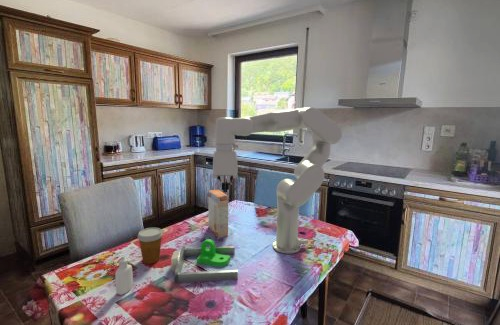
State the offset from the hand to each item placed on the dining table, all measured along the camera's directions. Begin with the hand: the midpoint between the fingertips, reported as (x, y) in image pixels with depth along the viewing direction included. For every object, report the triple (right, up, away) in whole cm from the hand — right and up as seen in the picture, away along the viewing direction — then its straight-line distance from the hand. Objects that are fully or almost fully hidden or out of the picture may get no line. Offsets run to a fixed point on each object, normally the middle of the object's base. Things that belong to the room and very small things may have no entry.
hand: (225, 191), depth 110 cm
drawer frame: (-7, -28, -8) cm, 30 cm away
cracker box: (-6, -24, +24) cm, 35 cm away
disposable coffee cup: (-30, -28, -3) cm, 41 cm away
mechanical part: (-4, -28, -4) cm, 29 cm away
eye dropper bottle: (-31, -31, -23) cm, 49 cm away
